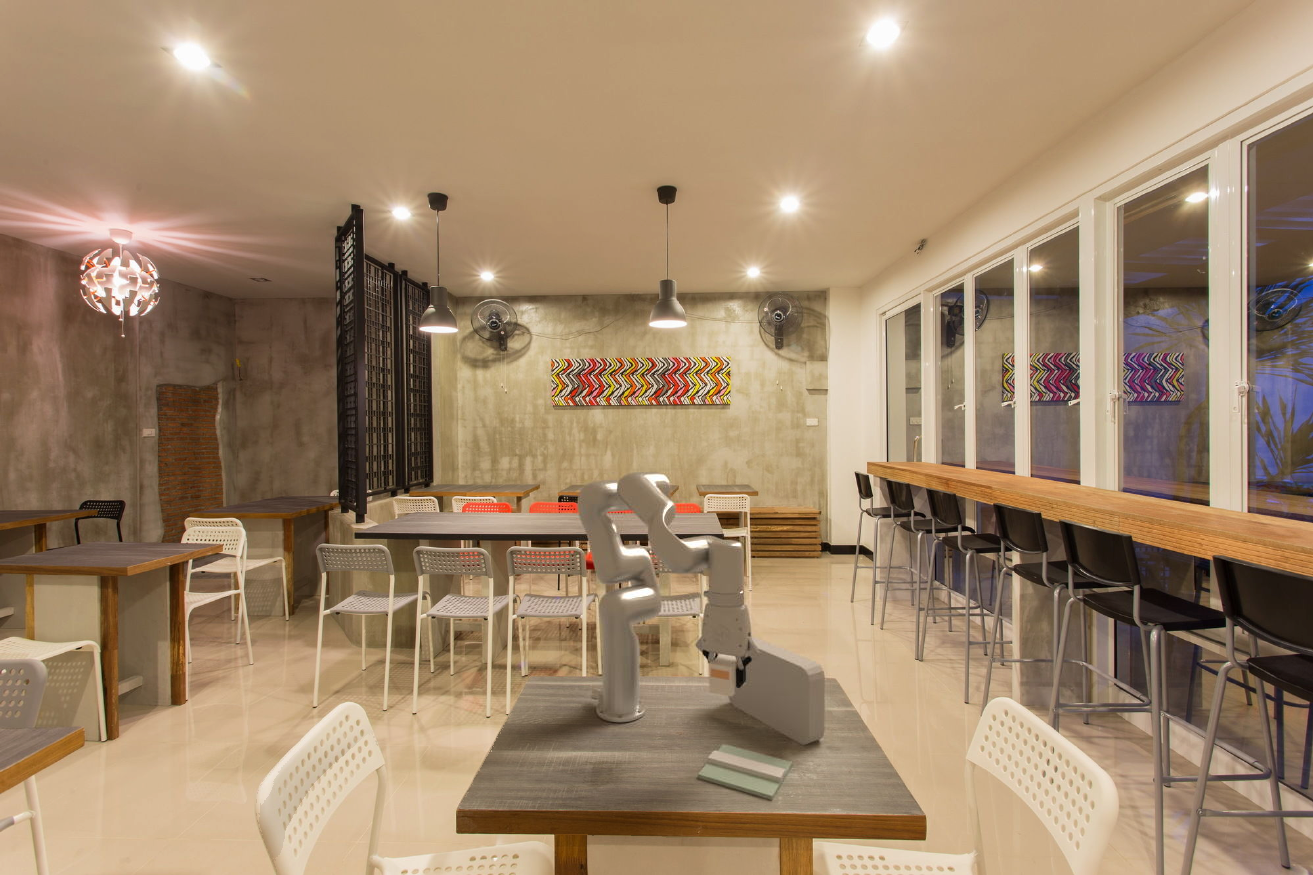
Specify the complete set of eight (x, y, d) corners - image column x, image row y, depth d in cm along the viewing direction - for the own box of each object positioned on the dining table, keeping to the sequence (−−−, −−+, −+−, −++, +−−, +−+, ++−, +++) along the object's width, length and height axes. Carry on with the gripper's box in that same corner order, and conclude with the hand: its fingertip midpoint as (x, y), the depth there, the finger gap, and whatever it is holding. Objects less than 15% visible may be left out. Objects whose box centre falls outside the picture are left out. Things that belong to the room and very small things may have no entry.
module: (709, 692, 127) (708, 663, 127) (724, 679, 134) (723, 652, 134) (731, 696, 125) (730, 667, 125) (745, 683, 132) (744, 655, 132)
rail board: (698, 777, 125) (698, 769, 125) (723, 747, 138) (723, 739, 138) (772, 800, 118) (772, 790, 118) (792, 765, 130) (792, 757, 130)
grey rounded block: (831, 739, 141) (831, 663, 141) (808, 749, 137) (809, 670, 137) (748, 696, 165) (749, 630, 165) (727, 702, 161) (727, 635, 161)
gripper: (683, 598, 131) (684, 682, 130) (758, 607, 122) (759, 697, 122) (698, 590, 137) (699, 671, 137) (770, 598, 129) (771, 684, 129)
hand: (727, 682), depth 129 cm, fingers closed on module, 4 cm apart
